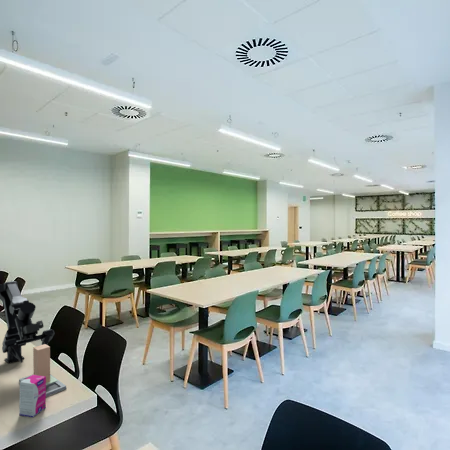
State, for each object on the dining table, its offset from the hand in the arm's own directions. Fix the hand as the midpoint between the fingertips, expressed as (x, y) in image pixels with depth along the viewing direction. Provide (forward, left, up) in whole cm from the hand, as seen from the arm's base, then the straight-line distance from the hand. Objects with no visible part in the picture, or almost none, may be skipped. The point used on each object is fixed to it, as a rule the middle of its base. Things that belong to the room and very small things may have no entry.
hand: (34, 358), depth 132 cm
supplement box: (+24, -9, -9) cm, 28 cm away
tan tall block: (+7, 0, -7) cm, 11 cm away
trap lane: (+7, 0, -9) cm, 12 cm away
